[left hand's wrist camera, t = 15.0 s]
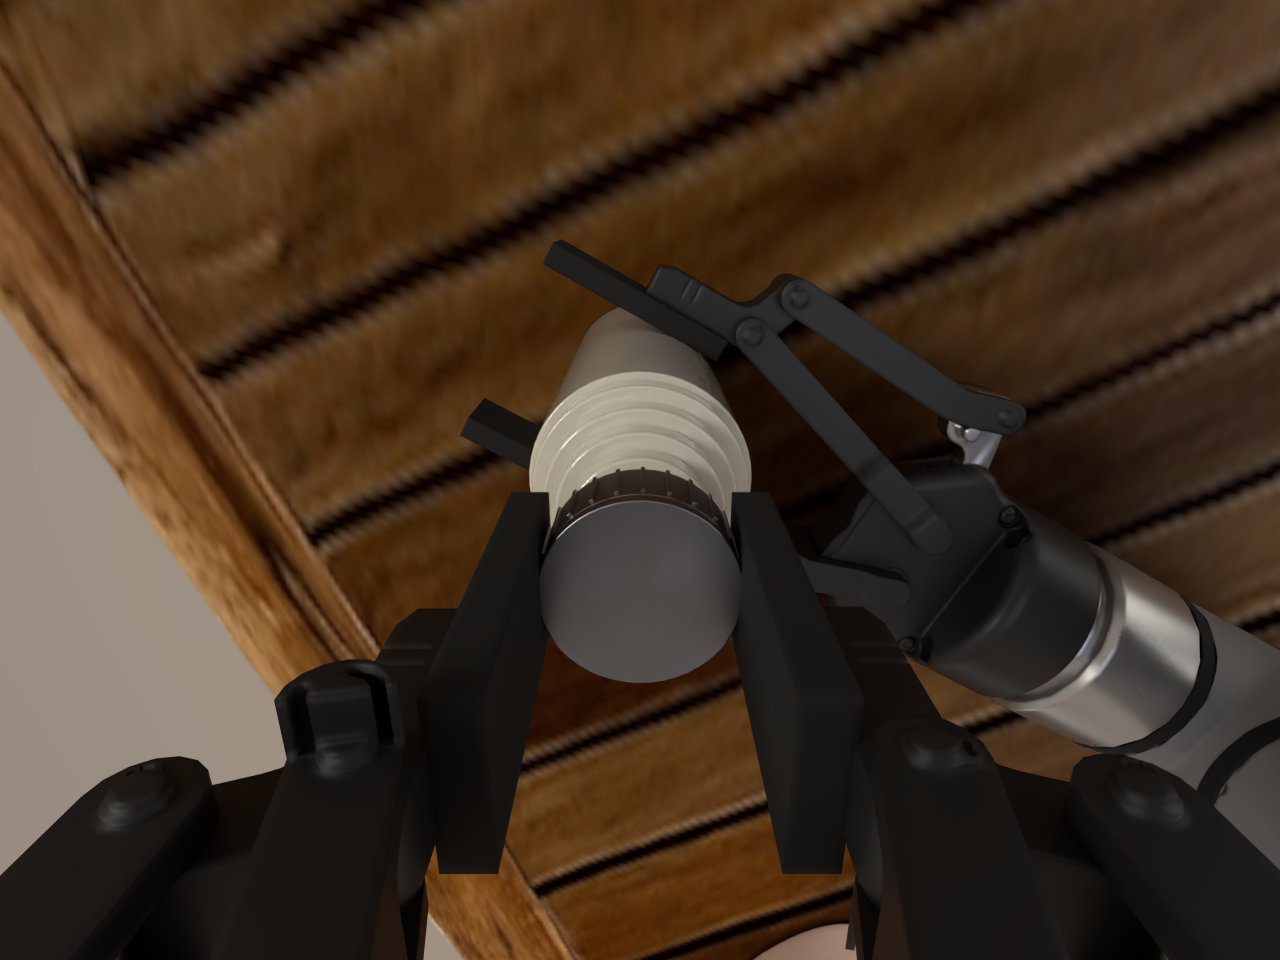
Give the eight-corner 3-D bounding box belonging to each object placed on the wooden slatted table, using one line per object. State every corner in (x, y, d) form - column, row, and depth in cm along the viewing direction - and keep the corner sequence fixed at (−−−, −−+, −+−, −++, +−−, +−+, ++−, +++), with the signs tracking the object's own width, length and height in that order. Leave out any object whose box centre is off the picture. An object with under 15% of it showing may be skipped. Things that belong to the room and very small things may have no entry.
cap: (542, 462, 14) (530, 494, 12) (743, 467, 14) (756, 499, 12) (546, 634, 15) (536, 683, 14) (728, 638, 15) (739, 687, 14)
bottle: (725, 332, 31) (847, 499, 13) (676, 450, 33) (722, 742, 15) (600, 283, 30) (540, 389, 12) (558, 407, 32) (451, 659, 14)
